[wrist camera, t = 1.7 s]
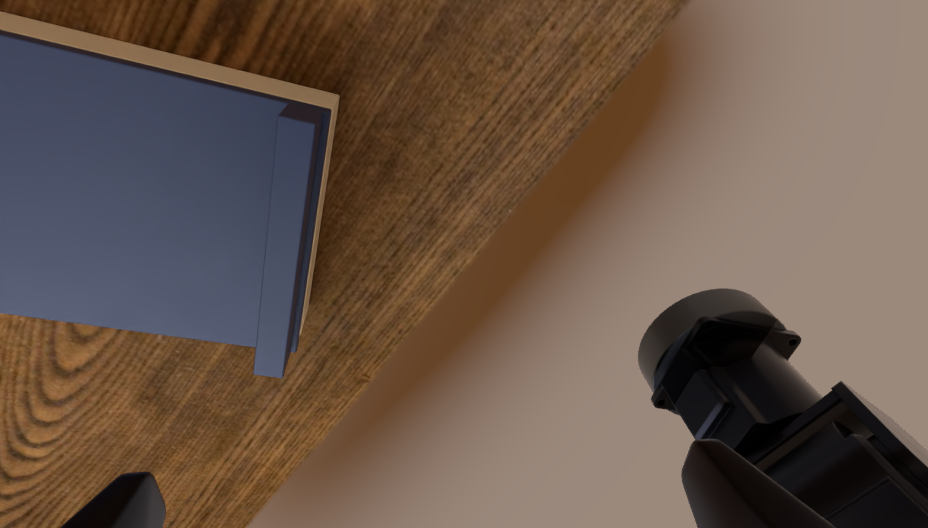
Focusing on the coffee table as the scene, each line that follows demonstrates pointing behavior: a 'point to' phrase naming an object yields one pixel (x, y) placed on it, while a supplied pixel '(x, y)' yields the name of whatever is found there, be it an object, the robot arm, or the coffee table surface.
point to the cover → (155, 199)
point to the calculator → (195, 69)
